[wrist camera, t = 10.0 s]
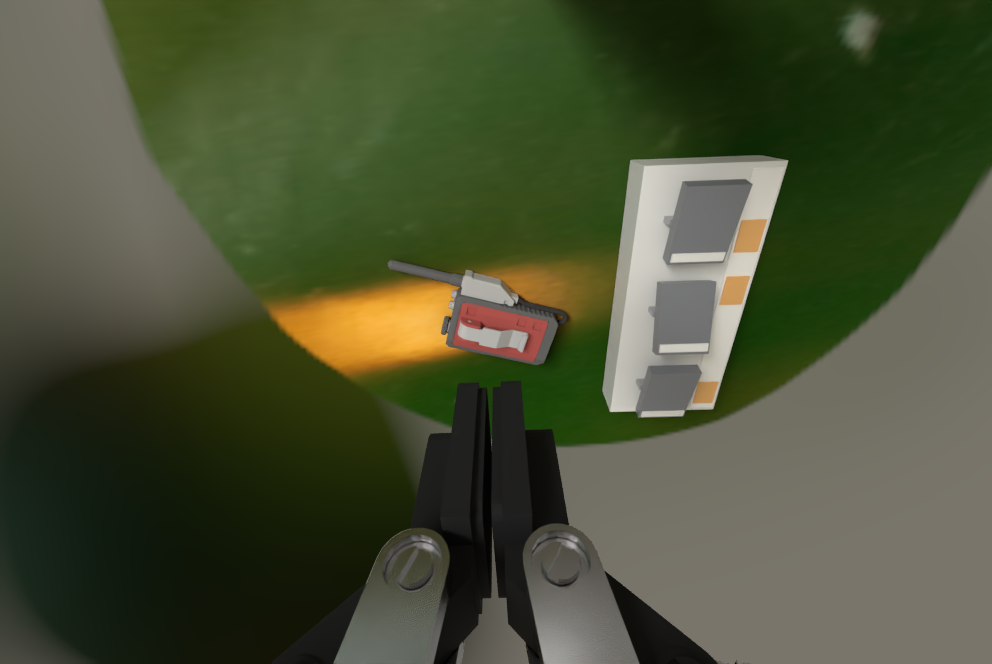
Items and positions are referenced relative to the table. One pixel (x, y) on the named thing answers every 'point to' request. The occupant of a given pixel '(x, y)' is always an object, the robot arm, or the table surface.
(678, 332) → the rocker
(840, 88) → the table surface
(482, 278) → the walkie-talkie
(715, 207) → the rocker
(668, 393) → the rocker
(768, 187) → the switch unit
